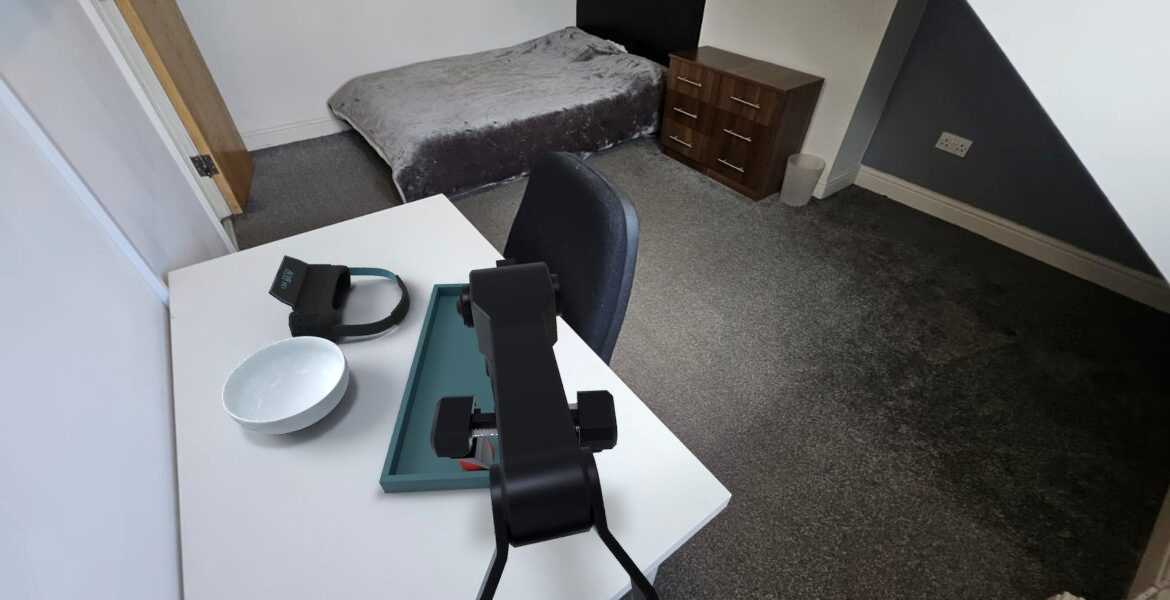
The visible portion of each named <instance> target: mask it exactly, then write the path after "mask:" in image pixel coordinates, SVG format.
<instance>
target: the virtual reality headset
mask: <svg viewBox="0 0 1170 600" xmlns="http://www.w3.org/2000/svg"><path fill="white" fill-rule="evenodd" d="M351 276H353V277H355V276H356V277H357V276H361V277H362V276H367V277H368V276H369V277H381V278H382V277H383V278H387V279H390V280H392V281H394V282H395V283H396V284H397V285H398V287H399V288H400V290H401V298H400V300H399V302H398V303H397V305H396V306H395V307H394V308H393V310H392V311H391V312H390V314H389V315H388V316H386V317H384V318H383V319H380V320H377V321H374V322H369V323H358V324H338V321H339V320H338V316H337V315H338V314H337V311H336V308H339V307H341V306H342V304H343V302H344V300H345V296H346V294H347V293H348V291H350V289H351V287H352V278H351ZM405 284H406V283H404V281H403V279H402V278H401V277H400V275H398V274H395V273H394V272H393V271H390V270H388V269H385V268H381V267H380V268H379V267H367V266H366V267H364V266H363V267H362V266H361V267H359V266H358V267H356V266H355V267H354V266H353V267H351V266H350V267H349V266H348V265H344V264H331V263H308V262H306V261H304V260H301V259H299V258H296V257H293V256H289V255H287V254H285V255H283V258H282V259H281V261H280V265H279V267H278V269H277V272H276V274H275V276H274V279H273V281H272V284H271V286H270V288H269V290H268V295H270V296H272V297H273V298H274V299H276V300H278V302H280V303H281V304H283V305H284V304H285V305H287V306H289V307H290V308H291V312H289V314H288V328H289V331H290V334H291V338H294V337H303V336H311V337H319V338H323V339H327V340H337V339H339V338H343V337H345V338H346V337H349V338H350V337H365V336H372V335H377V334H380V333H383V332H385V331H388V330H389V329H391V328H392V327H394V326H398V325H399V324H400V323H401V321H402V320H403V319H404V318H405V316H406V315H407V313H408V311H409V309H410V303H411V301H410V294H409V291H408V288H407V286H406V285H405Z"/></svg>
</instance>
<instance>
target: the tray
mask: <svg viewBox="0 0 1170 600" xmlns="http://www.w3.org/2000/svg"><path fill="white" fill-rule="evenodd" d="M467 284H469V282H466V283H465V282H464V283H462V282H461V283H434V284H433V288H432V291H431V294H430V298H429V302H428V305H427V309H426V312H425V316H424V320H423V323H422V327H421V330H420V334H419V338H418V341H417V345H416V348H415V351H414V355H413V359H412V362H411V366H410V369H409V374H408V377H407V381H406V384H405V388H404V390H403V395H402V399H401V402H400V406H399V409H398V413H397V416H396V420H395V423H394V427H393V431H392V433H391V438H390V441H389V444H388V448H387V452H386V456H385V459H384V463H383V466H382V470H381V473H380V477H379V481H378V483H379V485H380V487H381V489H382V491H383V492H384V494H389V493H390V494H392V493H408V492H409V493H410V492H411V493H412V492H428V491H447V490H450V491H451V490H465V489H466V490H468V489H484V488H489V489H490V481H489V469H487V468H486V469H484V470H482V471H467V470H465V469H464V468H463V467H462V466H461V465H460V463H459V461H458V460H451V459H449V458H448V457H441V458H438V457H437V456H436V455H435V454H434V453H433V451H432V448H431V446H430V433H431V428H432V423H433V419H434V414H435V409H436V404H437V403H438V401H439V400H440V399H441V398H443V397H444V396H467V395H476V399H477V405H476V406H475V407H474V408H481V411H482V413H495V411H494V408H495V404H494V398H493V392H492V387H491V381H490V377H488V376H487V375H486V367H485V355H484V354H482V353H480V352H479V349H478V343H477V337H476V332H475V328H467V325H464V320H463V319H462V318H461V317H460V316H458V313H457V307H456V300H457V299H458V298H459V297H460V292H462V285H467ZM487 439H488V440H489V441H490V442H491V443H492V445H493V449H494V456H493V464H498V463H500V459H499V447H498V437H487Z"/></svg>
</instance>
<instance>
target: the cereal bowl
mask: <svg viewBox="0 0 1170 600" xmlns="http://www.w3.org/2000/svg"><path fill="white" fill-rule="evenodd" d="M349 381H350V367H349V363H348V360H347V358H346V355H345V354H344V352H343V350H342V349H341V348H340V347H339V346H338V344H336V343H334V342H333V341H331V340H330V339H323V338H319V337H311V336H303V337H294V338H293V337H289V338H288V337H287V338H285V339H281V340H278V341H274V342H272V343H270V344H268V345H266V346H263V347H262V348H259V349H258V350H256V351H254V352H253V353H251V354H250V355H249V356H247V357H246V358H244V359H243V360H242V361H241V362H240V363H239V364H238V365H237V366H236V367H235V368H234V369H233V370H232V371H231V372H230V374H229V376H228V377H227V378H226V380H225V382H224V384H223V387H222V391H221V403H222V406H223V409H224V411H225V412H226V413H227V415H228V416H229V417H230V418H231V419H233V421H234V422H235V423H237V424H238V425H239V426H241V427H242V428H245V430H248V431H250V432H254V433H257V434H262V435H282V434H288V433H294V432H296V431H299V430H302V429H305V428H307V427H309V426H311V425H314V424H315V423H317V422H319V421H320V420H321V419H323V418H325V417H326V416H327V415H328V414H330V413H331V412H332V411H333V410H334V409H335V408H336V406H338V404H339V403H340V402H341V400H342V399H343V397H344V395H345V393H346V391H347V388H348V385H349Z"/></svg>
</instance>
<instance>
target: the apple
mask: <svg viewBox="0 0 1170 600" xmlns="http://www.w3.org/2000/svg"><path fill="white" fill-rule="evenodd" d="M487 440H488V439H487ZM488 443H489V446H490V449H491V452H492V458H493V456H494V449H493V445H492V443H491V442H490V441H489V440H488ZM458 461H459V463H460V465H461V466H462V467H463V468H464V469H465V470H467V471H482V470H484V469H486V468H484V467H481V466H478V465H475V464H472V463H469V462H465V461H461V460H458Z"/></svg>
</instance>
